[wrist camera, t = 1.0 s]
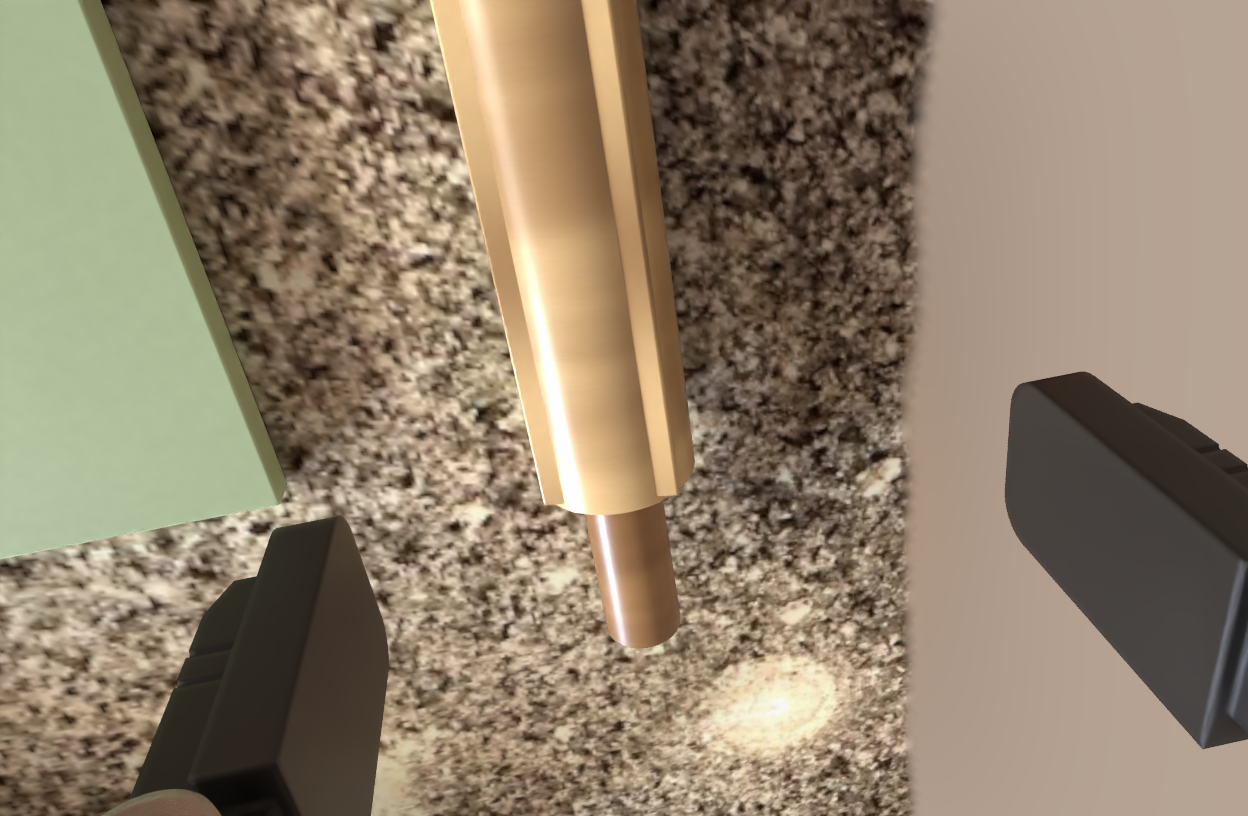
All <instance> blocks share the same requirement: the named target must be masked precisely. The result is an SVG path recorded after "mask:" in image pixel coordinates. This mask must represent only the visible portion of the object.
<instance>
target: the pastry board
mask: <svg viewBox="0 0 1248 816" xmlns="http://www.w3.org/2000/svg"><path fill="white" fill-rule="evenodd" d="M286 485H287V482H286V479H285V477H284V474H283V472H282V469H281V466H280V464H279V461H278V459H277V456H276V454H275V451H274V448H273V446H272V443H271V441H270V438H269V435H268V433H267V430H266V428H265V425H264V422H263V420H262V417H261V415H260V412H259V410H258V407H257V404H256V402H255V399H254V397H253V394H252V391H251V389H250V386H249V384H248V381H247V378H246V376H245V373H244V371H243V368H242V365H241V363H240V360H239V358H238V355H237V353H236V350H235V347H234V345H233V342H232V340H231V337H230V334H229V332H228V329H227V327H226V324H225V321H224V319H223V316H222V314H221V311H220V308H219V306H218V303H217V301H216V298H215V296H214V293H213V290H212V288H211V285H210V283H209V280H208V277H207V275H206V272H205V270H204V267H203V264H202V262H201V259H200V257H199V254H198V252H197V249H196V246H195V244H194V241H193V239H192V236H191V233H190V231H189V228H188V226H187V223H186V220H185V218H184V215H183V213H182V210H181V207H180V205H179V202H178V200H177V197H176V195H175V192H174V189H173V187H172V184H171V182H170V179H169V176H168V174H167V171H166V169H165V166H164V163H163V161H162V158H161V156H160V153H159V150H158V148H157V145H156V143H155V140H154V138H153V135H152V132H151V130H150V127H149V125H148V122H147V119H146V117H145V114H144V112H143V109H142V106H141V104H140V101H139V99H138V96H137V94H136V91H135V88H134V86H133V83H132V81H131V78H130V75H129V73H128V70H127V68H126V65H125V62H124V60H123V57H122V55H121V52H120V49H119V47H118V44H117V42H116V39H115V37H114V34H113V31H112V29H111V26H110V24H109V21H108V18H107V16H106V13H105V11H104V8H103V5H102V3H101V0H0V559H4V558H9V557H14V556H19V555H24V554H30V553H35V552H40V551H45V550H50V549H55V548H60V547H65V546H70V545H76V544H81V543H86V542H91V541H96V540H101V539H106V538H111V537H116V536H122V535H127V534H132V533H137V532H142V531H147V530H152V529H157V528H162V527H168V526H173V525H178V524H183V523H188V522H193V521H198V520H203V519H208V518H214V517H219V516H224V515H229V514H234V513H239V512H244V511H249V510H254V509H260V508H265V507H270V506H275V505H279V504H280V503H281V500H282V497H283V494H284V491H285V488H286Z"/></svg>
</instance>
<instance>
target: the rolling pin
mask: <svg viewBox="0 0 1248 816" xmlns="http://www.w3.org/2000/svg"><path fill="white" fill-rule="evenodd" d="M430 3H431V7H432V12H433V16H434V21H435V25H436V29H437V34H438V38H439V43H440V47H441V52H442V56H443V60H444V65H445V69H446V74H447V78H448V83H449V87H450V91H451V96H452V100H453V105H454V109H455V113H456V118H457V122H458V127H459V131H460V136H461V140H462V144H463V149H464V153H465V158H466V162H467V167H468V171H469V175H470V180H471V184H472V189H473V193H474V197H475V202H476V206H477V211H478V215H479V220H480V224H481V228H482V233H483V237H484V242H485V246H486V251H487V255H488V259H489V264H490V268H491V273H492V277H493V281H494V286H495V290H496V295H497V299H498V304H499V308H500V312H501V317H502V321H503V326H504V330H505V335H506V339H507V343H508V348H509V352H510V357H511V361H512V365H513V370H514V374H515V379H516V383H517V388H518V392H519V396H520V401H521V405H522V410H523V414H524V419H525V423H526V427H527V432H528V436H529V441H530V445H531V449H532V454H533V458H534V463H535V467H536V472H537V476H538V480H539V485H540V489H541V494H542V498H543V502H544V504H545V505H552V504H556V505H557V506H559V507H561V508H563V509H566V510H569V511H572V512H576V513H581V514H585V518H586V523H587V528H588V533H589V538H590V543H591V548H592V553H593V558H594V563H595V568H596V573H597V578H598V583H599V588H600V593H601V598H602V603H603V608H604V613H605V618H606V623H607V628H608V631H609V634H610V636H611V637H612V638H613V639H614V640H615V641H616V642H618V643H619V644H621V645H623V646H626V647H630V648H648V647H653V646H656V645H659V644H661V643H663V642H665V641H666V640H668V639H669V638H671V637H672V636H673V635H674V634H675V632H676V631H677V629H678V627H679V624H680V611H679V604H678V597H677V591H676V584H675V577H674V571H673V564H672V557H671V551H670V544H669V537H668V531H667V524H666V517H665V510H664V504H663V500H664V499H666V498H668V497H670V496H671V495H677V494H678V493H679V489H680V488H681V487H682V486H683V485H684V484H685V483H686V482H687V480H688V479H689V477H690V476H691V474H692V471H693V469H694V463H695V459H694V450H693V442H692V435H691V427H690V419H689V411H688V403H687V395H686V387H685V379H684V371H683V363H682V355H681V347H680V339H679V331H678V323H677V315H676V307H675V299H674V291H673V284H672V276H671V268H670V260H669V252H668V244H667V236H666V228H665V220H664V212H663V204H662V196H661V188H660V180H659V172H658V164H657V156H656V148H655V140H654V132H653V125H652V117H651V109H650V101H649V93H648V85H647V77H646V69H645V61H644V53H643V45H642V37H641V29H640V21H639V13H638V5H637V0H430Z"/></svg>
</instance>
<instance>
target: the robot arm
mask: <svg viewBox="0 0 1248 816" xmlns="http://www.w3.org/2000/svg"><path fill="white" fill-rule="evenodd" d="M1005 502H1006V507H1007V512H1008V516H1009V519H1010V522H1011V525H1012V527H1013V529H1014V531H1015V533H1016V535H1017V537H1018V538H1019V540H1020V541H1021V543H1022V544H1023V545H1024V546H1025V547H1026V548H1027V550H1028V551H1029V552H1030V553H1031V554H1032V555H1033V556H1034V557H1035V559H1036V560H1037V561H1038V562H1039V563H1040V564H1041V566H1042V567H1043V568H1044V569H1045V570H1046V571H1047V572H1048V574H1050V576H1051V577H1052V578H1053V579H1054V580H1055V582H1056V583H1057V584H1058V585H1059V586H1060V587H1061V588H1062V589H1063V591H1064V592H1065V593H1066V594H1067V595H1068V596H1069V597H1070V598H1071V600H1072V601H1073V602H1074V603H1075V604H1076V605H1077V607H1079V609H1080V610H1081V611H1082V612H1083V613H1084V614H1085V616H1086V617H1087V618H1088V619H1089V620H1090V621H1091V623H1092V624H1093V625H1094V626H1095V627H1096V628H1097V629H1098V630H1099V632H1100V633H1101V634H1102V635H1103V636H1104V637H1105V638H1106V640H1107V641H1108V642H1109V643H1110V644H1111V645H1112V646H1113V648H1114V649H1115V650H1116V651H1117V652H1118V653H1119V654H1120V656H1121V657H1122V658H1123V659H1124V660H1125V661H1126V662H1127V664H1128V665H1129V666H1130V667H1131V668H1132V669H1133V670H1134V671H1135V673H1136V674H1137V675H1138V676H1139V677H1140V678H1141V679H1142V681H1143V682H1144V683H1145V684H1146V685H1147V686H1148V687H1149V689H1150V690H1151V691H1152V692H1153V693H1154V694H1155V695H1156V697H1157V698H1158V699H1159V700H1160V701H1161V702H1162V703H1163V704H1164V706H1165V707H1166V708H1167V709H1168V710H1169V711H1170V712H1171V714H1172V715H1173V716H1174V717H1175V718H1176V719H1177V720H1178V722H1179V723H1180V724H1181V725H1182V726H1183V727H1184V728H1185V730H1186V731H1187V732H1188V733H1189V734H1190V735H1191V736H1192V738H1193V739H1194V740H1195V741H1196V742H1197V743H1198V744H1199V745H1200V747H1201V748H1202V749H1206V748H1210V747H1215V746H1219V745H1224V744H1228V743H1233V742H1237V741H1242V740H1246V739H1248V467H1247V464H1246V463H1245V462H1243V461H1242V460H1240V459H1239V458H1237V457H1236V456H1234V455H1233V454H1232V453H1230V452H1229V451H1227V450H1226V449H1223V450H1220V449H1219V444H1218V443H1216V442H1215V441H1213V440H1212V439H1210V438H1209V437H1208V436H1206V435H1204V434H1203V433H1202V432H1200V431H1199V430H1198V429H1196V428H1195V427H1193V426H1192V425H1190V424H1189V423H1188V422H1186V421H1185V420H1183V419H1180V418H1177V417H1174V416H1172V415H1169V414H1167V413H1163V412H1161V411H1158V410H1156V409H1153V408H1151V407H1148V406H1145V405H1143V404H1140V403H1133V404H1132V403H1130V402H1129V401H1128V400H1126V399H1125V398H1124V397H1122V396H1121V395H1120V394H1118V393H1117V392H1115V391H1114V390H1113V389H1111V388H1110V387H1109V386H1107V385H1106V384H1104V383H1103V382H1102V381H1100V380H1099V379H1098V378H1096V377H1095V376H1093V375H1092V374H1090V373H1087V372H1077V373H1072V374H1067V375H1062V376H1057V377H1051V378H1046V379H1041V380H1036V381H1031V382H1026V383H1022V384H1020V385H1018V386H1017V388H1016V389H1015V390H1014V393H1013V396H1012V399H1011V408H1010V423H1009V437H1008V452H1007V468H1006V482H1005ZM189 653H190V658H186V659H185V662H184V664H183V667H182V669H181V672H180V674H179V677H178V679H177V683H178V688H175V689H173V692H172V694H171V697H170V699H169V702H168V704H167V707H166V709H165V712H164V714H163V717H162V719H161V722H160V724H159V727H158V729H157V732H156V734H155V737H154V739H153V742H152V744H151V747H150V749H149V752H148V754H147V757H146V759H145V762H144V764H143V766H142V769H141V771H140V774H139V776H138V779H137V781H136V784H135V786H134V789H133V791H132V794H131V796H130V799H129V800H128V801H126V802H124V803H122V804H120V805H118V806H116V807H114V808H113V809H111V810H109V811H108V812H106V813H104V814H103V815H101V816H371V810H372V801H373V793H374V785H375V777H376V769H377V761H378V752H379V744H380V736H381V728H382V720H383V712H384V704H385V695H386V687H387V679H388V670H389V655H388V644H387V637H386V632H385V627H384V623H383V619H382V616H381V613H380V610H379V607H378V605H377V602H376V599H375V596H374V593H373V590H372V588H371V585H370V582H369V579H368V576H367V573H366V571H365V568H364V565H363V562H362V559H361V556H360V553H359V551H358V548H357V545H356V542H355V539H354V536H353V534H352V531H351V529H350V527H349V524H348V523H347V521H346V520H345V519H344V518H343V517H342V516H336V517H331V518H326V519H321V520H316V521H311V522H306V523H301V524H296V525H291V526H286V527H281V528H276V529H275V530H274V531H273V532H272V534H271V536H270V539H269V542H268V545H267V548H266V551H265V554H264V557H263V560H262V563H261V566H260V568H259V571H258V574H257V576H256V577H251V578H246V579H241V580H236V581H234V582H233V583H232V584H231V585H230V586H229V587H228V588H227V589H226V591H225V592H224V593H223V594H222V595H221V596H220V597H219V598H218V599H217V601H216V602H215V603H214V604H213V605H212V606H211V607H210V608H209V609H208V610H207V612H206V613H205V614H204V615H203V617H202V619H201V622H200V624H199V627H198V629H197V632H196V634H195V637H194V639H193V642H192V644H191V647H190V649H189Z"/></svg>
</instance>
